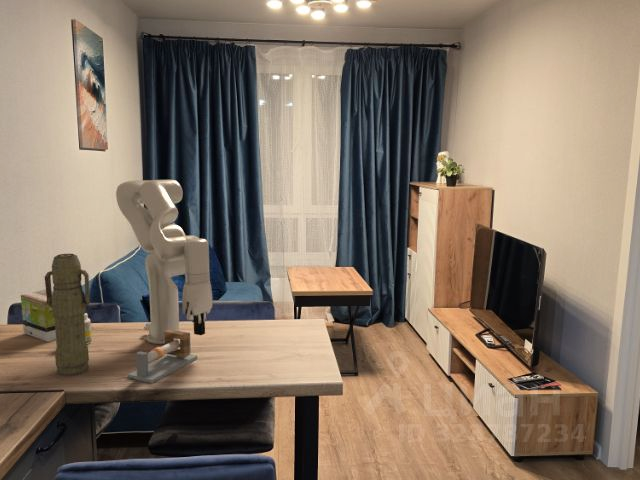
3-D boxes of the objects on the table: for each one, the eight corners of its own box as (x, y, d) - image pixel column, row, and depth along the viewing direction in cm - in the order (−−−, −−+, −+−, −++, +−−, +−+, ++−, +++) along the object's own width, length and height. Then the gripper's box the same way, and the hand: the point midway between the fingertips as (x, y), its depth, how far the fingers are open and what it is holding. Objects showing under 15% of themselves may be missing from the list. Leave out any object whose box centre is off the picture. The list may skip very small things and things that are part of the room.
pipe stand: (127, 377, 152) (126, 351, 151) (176, 353, 171) (175, 330, 170) (152, 383, 148) (151, 357, 147) (198, 357, 168) (198, 334, 166)
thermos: (55, 365, 160) (47, 252, 154) (96, 363, 162) (90, 251, 157) (46, 377, 151) (38, 258, 146) (90, 374, 154) (83, 257, 148)
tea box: (22, 334, 187) (19, 294, 185) (49, 327, 196) (46, 288, 193) (47, 342, 179) (44, 300, 177) (74, 334, 188) (71, 294, 186)
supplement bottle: (74, 341, 181) (72, 312, 179) (91, 339, 183) (90, 311, 181) (73, 346, 176) (71, 317, 174) (91, 344, 178) (89, 315, 176)
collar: (165, 353, 165) (164, 331, 164) (170, 351, 167) (169, 329, 166) (184, 357, 162) (183, 335, 161) (189, 354, 164) (188, 332, 163)
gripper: (202, 272, 174) (204, 326, 176) (172, 281, 160) (174, 339, 163) (221, 274, 171) (222, 329, 173) (192, 283, 157) (194, 342, 160)
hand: (199, 334), depth 168 cm, fingers closed
